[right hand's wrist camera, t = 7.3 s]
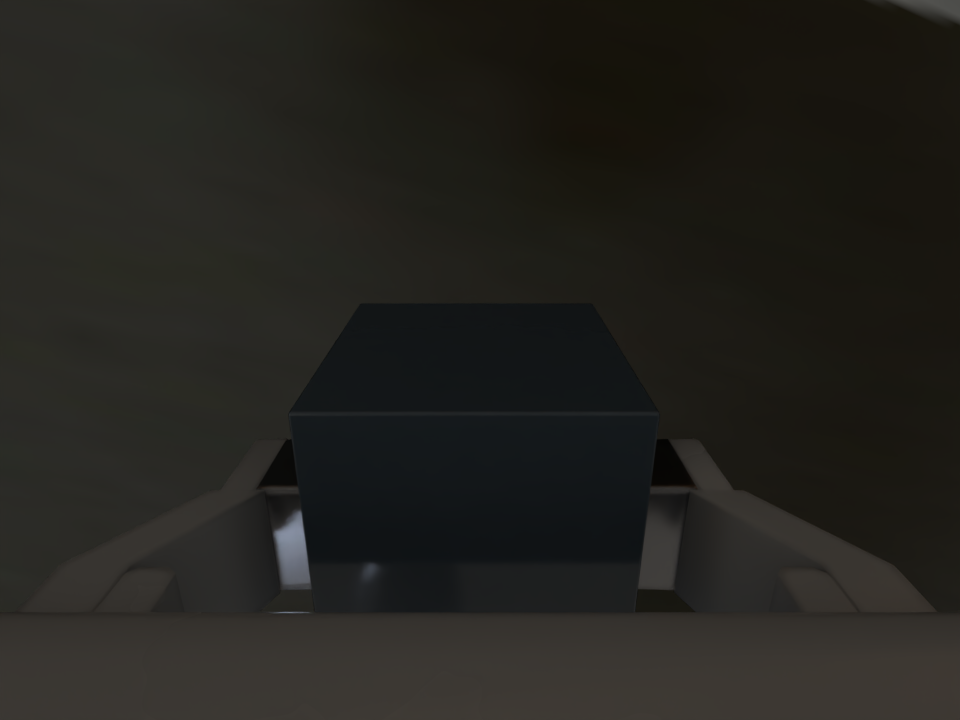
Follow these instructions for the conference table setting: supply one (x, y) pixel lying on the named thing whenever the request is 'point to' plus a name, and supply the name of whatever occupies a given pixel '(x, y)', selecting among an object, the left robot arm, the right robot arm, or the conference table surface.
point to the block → (474, 462)
